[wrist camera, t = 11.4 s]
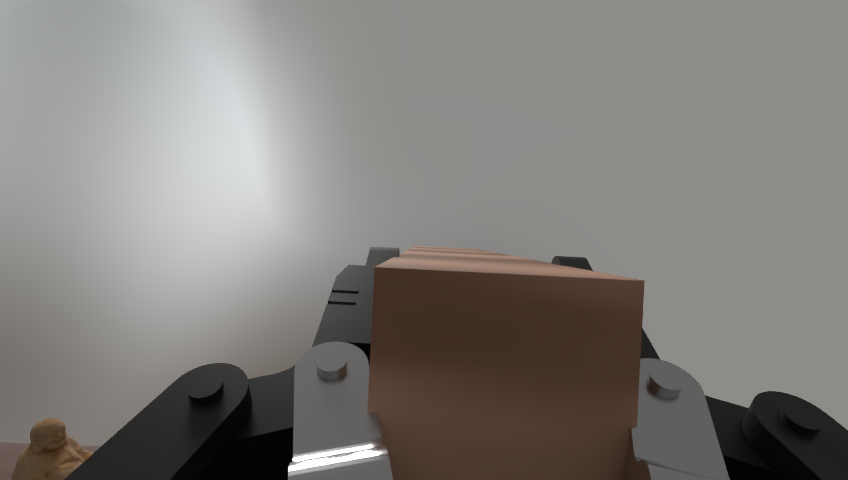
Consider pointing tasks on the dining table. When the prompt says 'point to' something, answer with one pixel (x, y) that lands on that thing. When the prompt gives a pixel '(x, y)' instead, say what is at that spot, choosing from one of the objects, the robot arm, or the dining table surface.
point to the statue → (49, 453)
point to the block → (503, 367)
